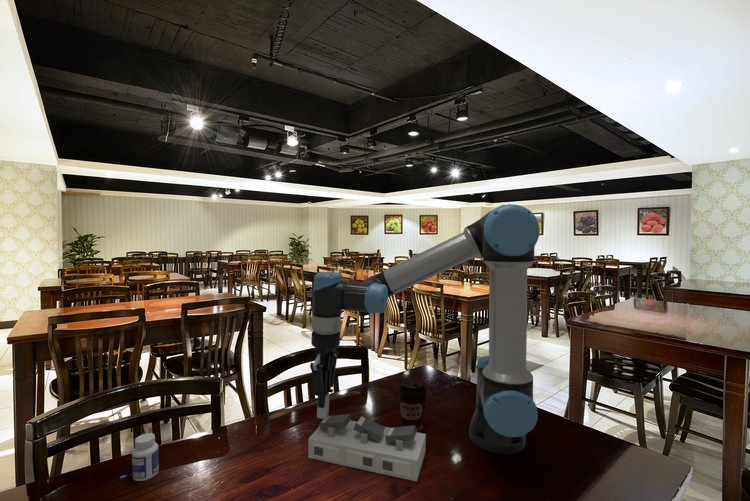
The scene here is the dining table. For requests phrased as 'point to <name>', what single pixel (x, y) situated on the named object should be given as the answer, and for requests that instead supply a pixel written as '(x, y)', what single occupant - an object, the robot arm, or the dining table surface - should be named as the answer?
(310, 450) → the console
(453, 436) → the dining table surface
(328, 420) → the switch
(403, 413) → the coffee cup
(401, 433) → the switch
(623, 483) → the dining table surface
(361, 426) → the switch
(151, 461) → the pill bottle
